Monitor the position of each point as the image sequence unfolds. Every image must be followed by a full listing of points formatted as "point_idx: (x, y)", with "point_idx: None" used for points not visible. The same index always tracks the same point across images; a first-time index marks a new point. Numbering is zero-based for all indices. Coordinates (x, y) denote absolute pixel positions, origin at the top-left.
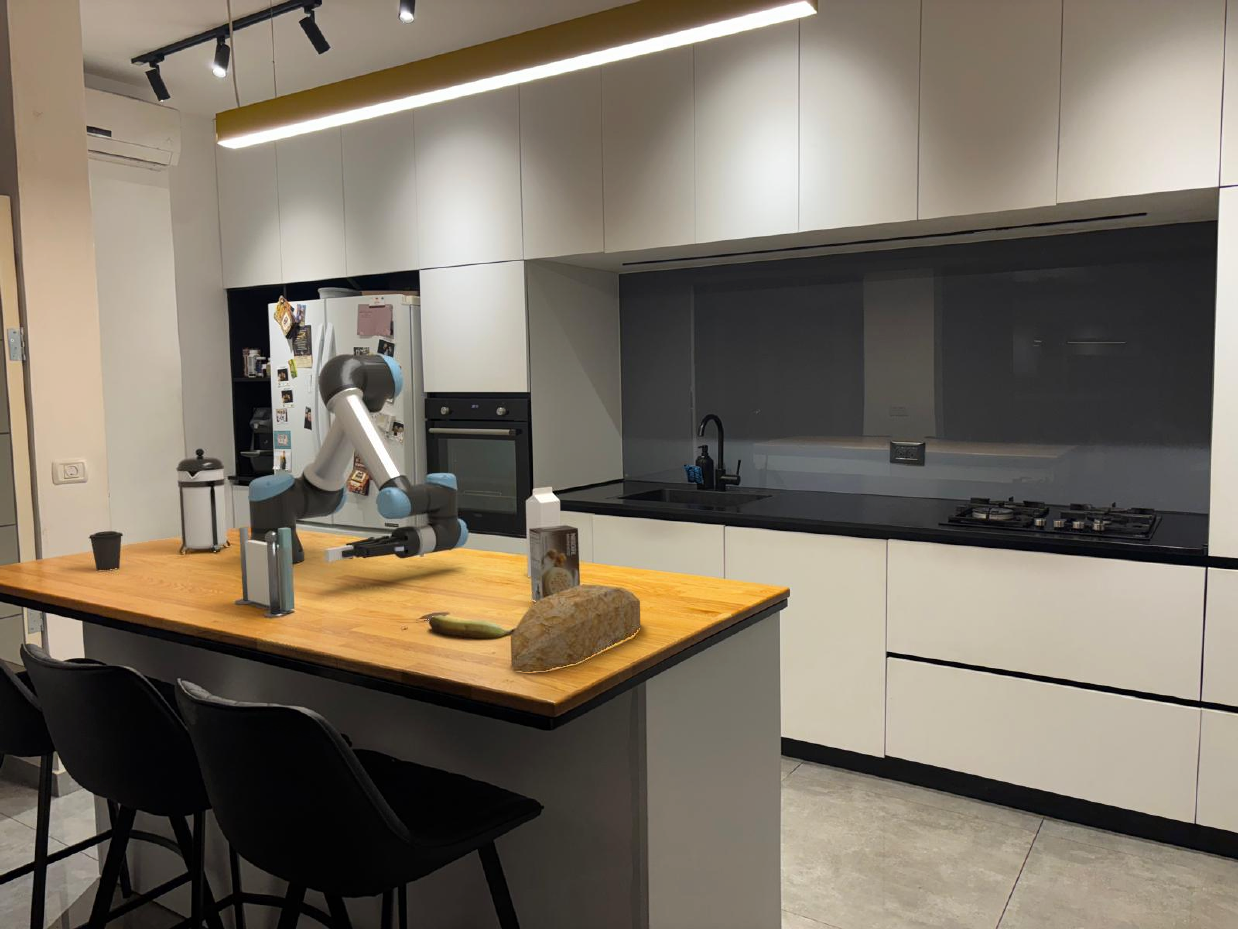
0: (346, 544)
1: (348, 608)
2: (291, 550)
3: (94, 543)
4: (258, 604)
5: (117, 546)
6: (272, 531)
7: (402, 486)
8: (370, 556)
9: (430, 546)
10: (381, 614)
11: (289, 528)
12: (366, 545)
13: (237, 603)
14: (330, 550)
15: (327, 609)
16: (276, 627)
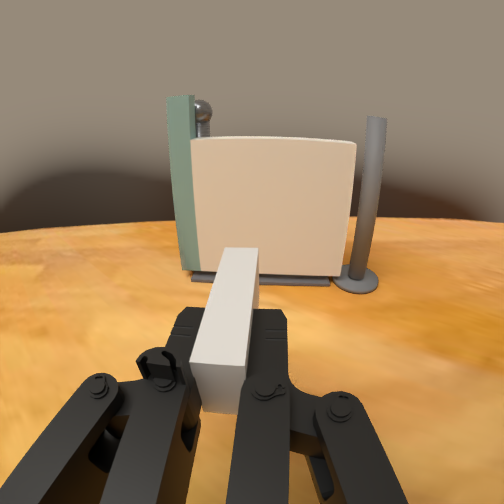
0: (340, 393)
1: (100, 334)
2: (169, 148)
3: None
4: (307, 275)
5: None
6: (196, 100)
7: None
8: (95, 443)
9: None
10: (21, 323)
11: (167, 97)
12: (122, 443)
13: (348, 265)
14: (223, 255)
15: (141, 314)
16: (148, 240)
